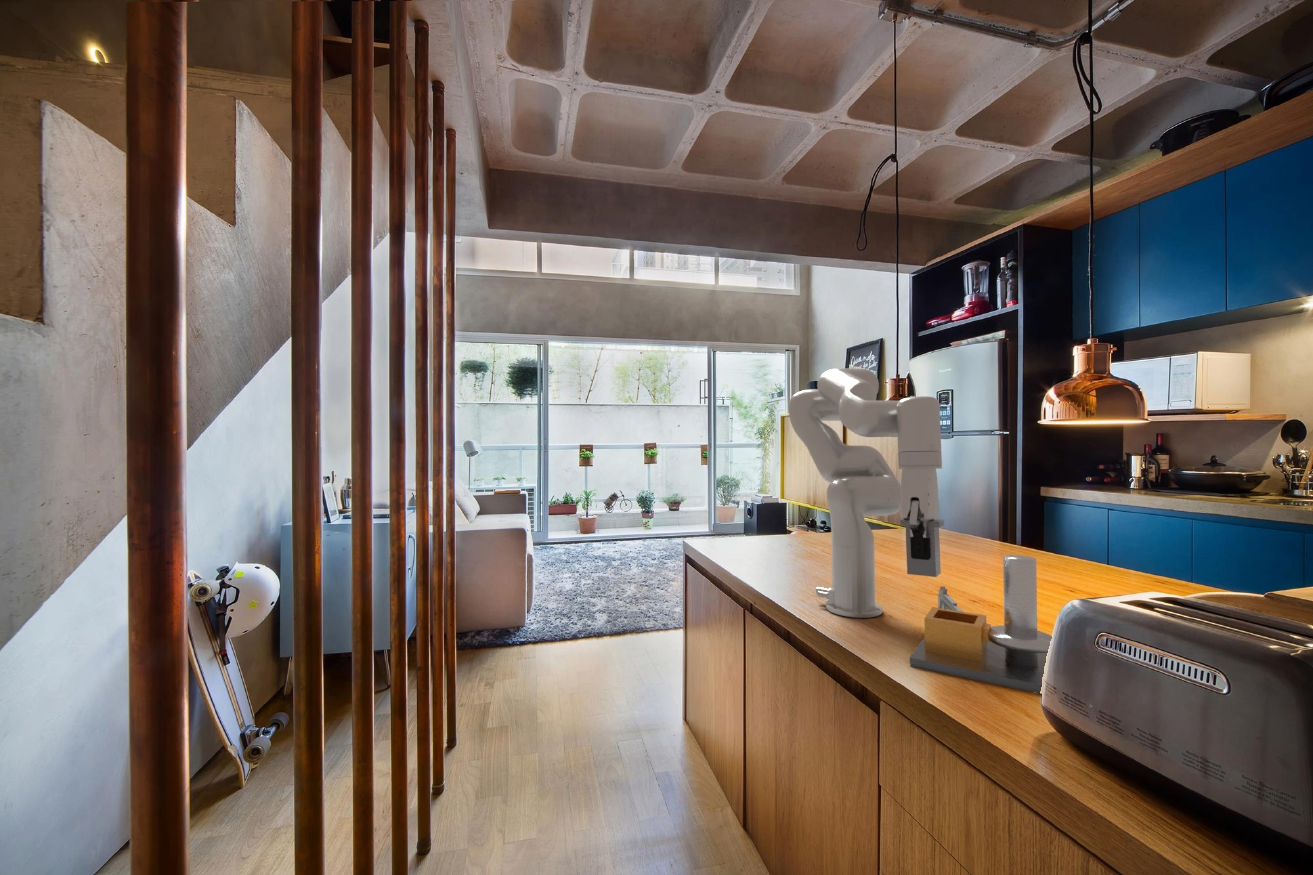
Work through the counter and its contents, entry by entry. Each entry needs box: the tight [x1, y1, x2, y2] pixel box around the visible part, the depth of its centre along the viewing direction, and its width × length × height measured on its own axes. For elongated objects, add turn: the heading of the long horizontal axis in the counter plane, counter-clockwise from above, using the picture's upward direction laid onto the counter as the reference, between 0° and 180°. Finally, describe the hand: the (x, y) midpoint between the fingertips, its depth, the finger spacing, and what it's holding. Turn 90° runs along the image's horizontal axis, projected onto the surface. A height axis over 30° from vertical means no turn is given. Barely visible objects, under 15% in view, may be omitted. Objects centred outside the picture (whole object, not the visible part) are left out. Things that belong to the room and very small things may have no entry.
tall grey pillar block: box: [900, 518, 945, 578], centre depth 105 cm, size 7×4×10 cm, turn 52°
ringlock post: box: [909, 554, 1053, 695], centre depth 98 cm, size 21×18×20 cm
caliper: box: [937, 585, 964, 612], centre depth 119 cm, size 20×1×6 cm, turn 176°
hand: (923, 556), depth 104 cm, fingers closed on tall grey pillar block, 4 cm apart
